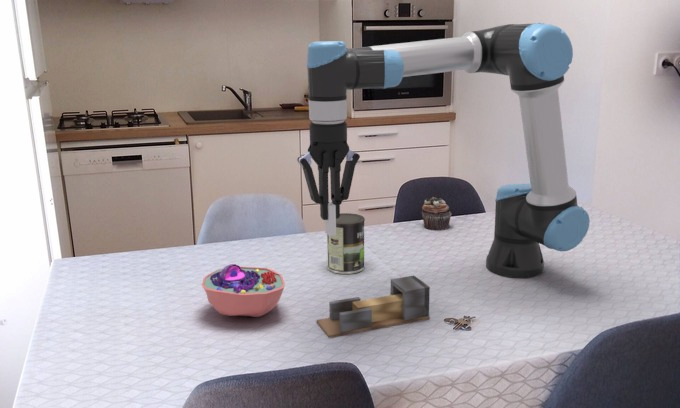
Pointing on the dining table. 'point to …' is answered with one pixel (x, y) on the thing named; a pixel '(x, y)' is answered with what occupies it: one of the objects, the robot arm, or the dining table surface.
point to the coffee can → (347, 245)
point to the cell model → (243, 290)
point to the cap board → (361, 319)
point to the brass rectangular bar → (382, 307)
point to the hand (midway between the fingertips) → (330, 233)
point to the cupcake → (436, 214)
